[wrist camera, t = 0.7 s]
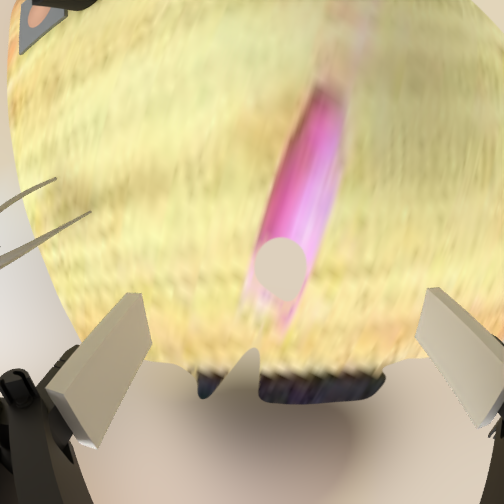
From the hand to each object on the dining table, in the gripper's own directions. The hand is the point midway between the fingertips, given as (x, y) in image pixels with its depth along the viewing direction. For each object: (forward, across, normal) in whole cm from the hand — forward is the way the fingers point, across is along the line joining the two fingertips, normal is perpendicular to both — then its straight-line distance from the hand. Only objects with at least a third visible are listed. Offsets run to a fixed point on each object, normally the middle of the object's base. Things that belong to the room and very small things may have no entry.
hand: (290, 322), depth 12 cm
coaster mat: (+26, -40, +42) cm, 63 cm away
